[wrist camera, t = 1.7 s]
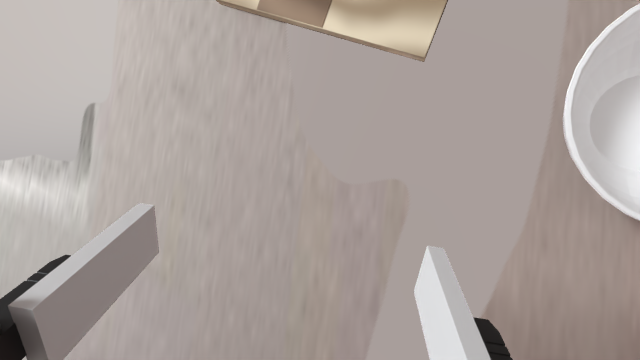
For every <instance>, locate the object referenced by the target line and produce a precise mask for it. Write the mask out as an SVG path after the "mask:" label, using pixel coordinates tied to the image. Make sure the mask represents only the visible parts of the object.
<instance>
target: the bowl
mask: <svg viewBox="0 0 640 360" xmlns="http://www.w3.org/2000/svg"><path fill="white" fill-rule="evenodd" d="M563 128H564V138H565V141H566V144H567V147H568V150H569V153H570V156H571V158H572V160H573V161H574V163H575V165H576V166H577V168H578V169H579V171H580V173H581V174H582V176H583V177H584V178H585V180H586V181H587V182H588V183H589V184H590V185H591V186H592V187H593V188H594V189H595V190H596V191H597V192H598V194H599V195H600V196H601V197H602V198H603V199H605V200H606V201H607V202H609V203H610V204H612V205H613V206H614V207H616V208H617V209H619V210H620V211H621V212H623V213H624V214H626V215H628V216H630V217H632V218H634V219H637V220H639V221H640V4H638V5H637V6H635V7H633V8H631V9H629V10H628V11H627V12H625V13H624V14H623V15H622V16H620V17H619V18H618V19H616V20H615V21H614V22H613V23H611V24H610V25H609V26H607V27H606V28H605V30H604V31H603V32H602V33H601V34H600V35H599V36H598V37H597V38H596V39H595V41H594V42H593V43H592V44H591V45H590V46H589V47H588V49H587V51H586V52H585V54H584V55H583V57H582V59H581V60H580V62H579V64H578V65H577V67H576V68H575V71H574V74H573V77H572V79H571V82H570V85H569V88H568V90H567V94H566V99H565V107H564V114H563Z"/></svg>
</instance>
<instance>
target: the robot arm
mask: <svg viewBox="0 0 640 360" xmlns="http://www.w3.org/2000/svg"><path fill="white" fill-rule="evenodd" d="M158 253H159V246H158V237H157V227H156V218H155V208H154V205H149V204H142V203H138V204H137V205H136V206H134V207H133V208H132V209H130V210H129V211H128V212H127V213H125V214H124V215H123V216H122V217H120V218H119V219H118V220H116V221H115V222H114V223H113V224H111V225H110V226H109V227H108V228H106V229H105V230H104V231H102V232H101V233H100V234H99V235H97V236H96V237H95V238H94V239H92V240H91V241H90V242H88V243H87V244H86V245H85V246H83V247H82V248H81V249H79V250H78V251H77V252H76V253H74V254H73V255H72V256H70V255H64V256H62V257H60V258H58V259H55V260H53V261H51V262H49V263H48V264H47V265H45V266H44V267H43V268H41V269H40V270H39V271H37V273H35V274H33V275H32V276H31V277H29V278H28V279H27V281H24V282H23V283H21V284H20V285H19V286H17V287H16V288H15V289H13V290H12V291H11V292H9V293H8V294H7V295H5V296H4V297H3V298H1V299H0V360H22V359H23V358H24V357H25V356H26V357H27V360H63V359H64V358H65V357H66V356H67V355H68V353H69V352H70V351H71V350H72V349H73V348H74V347H75V346H76V344H77V343H78V342H79V341H80V340H81V339H82V338H83V337H84V336H85V334H86V333H87V332H88V331H89V330H90V329H91V328H92V327H93V325H94V324H95V323H96V322H97V321H98V320H99V319H100V318H101V316H102V315H103V314H104V313H105V312H106V311H107V310H108V309H109V308H110V306H111V305H112V304H113V303H114V302H115V301H116V300H117V299H118V297H119V296H120V295H121V294H122V293H123V292H124V291H125V290H126V288H127V287H128V286H129V285H130V284H131V283H132V282H133V281H134V280H135V278H136V277H137V276H138V275H139V274H140V273H141V272H142V271H143V269H144V268H145V267H146V266H147V265H148V264H149V263H150V262H151V261H152V259H153V258H154V257H155V256H156V255H157V254H158ZM414 294H415V299H416V303H417V307H418V311H419V315H420V319H421V324H422V328H423V332H424V337H425V341H426V345H427V349H428V354H429V358H430V360H512V358H510V353H509V351H508V349H507V347H505V343H504V341H503V339H502V337H501V335H500V333H499V331H498V330H497V329H496V328H495V327H494V326H493V325H492V324H491V323H490V321H489V320H486V319H480V318H473V316H472V314H471V311H470V309H469V307H468V304H467V302H466V300H465V297H464V295H463V292H462V290H461V288H460V285H459V283H458V281H457V279H456V276H455V273H454V271H453V269H452V267H451V264H450V262H449V259H448V257H447V255H446V252H445V250H444V248H439V247H432V246H427V249H426V252H425V255H424V259H423V262H422V265H421V269H420V272H419V275H418V279H417V282H416V285H415V289H414Z"/></svg>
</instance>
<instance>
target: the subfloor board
mask: <svg viewBox="0 0 640 360" xmlns="http://www.w3.org/2000/svg"><path fill="white" fill-rule="evenodd" d="M216 1H217V2H219V3H220V4H222V5H225V6H229V7H232V8H236V9H239V10H243V11H246V12H250V13H254V14H257V15H261V16H264V17H268V18H271V19H275V20H278V21H282V22H285V23H289V24H292V25H296V26H300V27H303V28H307V29H310V30H313V31H317V32H320V33H324V34H327V35H331V36H334V37H338V38H341V39H345V40H349V41H352V42H355V43H359V44H362V45H366V46H370V47H373V48H377V49H380V50H384V51H387V52H391V53H394V54H398V55H401V56H405V57H408V58H412V59H415V60H419V61H422V62H424V61H425V58H426V55H427V53H428V50H429V48H430V45H431V43H432V40H433V37H434V35H435V32H436V30H437V27H438V24H439V22H440V19H441V17H442V14H443V12H444V9H445V7H446V4H447V2H448V0H216Z"/></svg>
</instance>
